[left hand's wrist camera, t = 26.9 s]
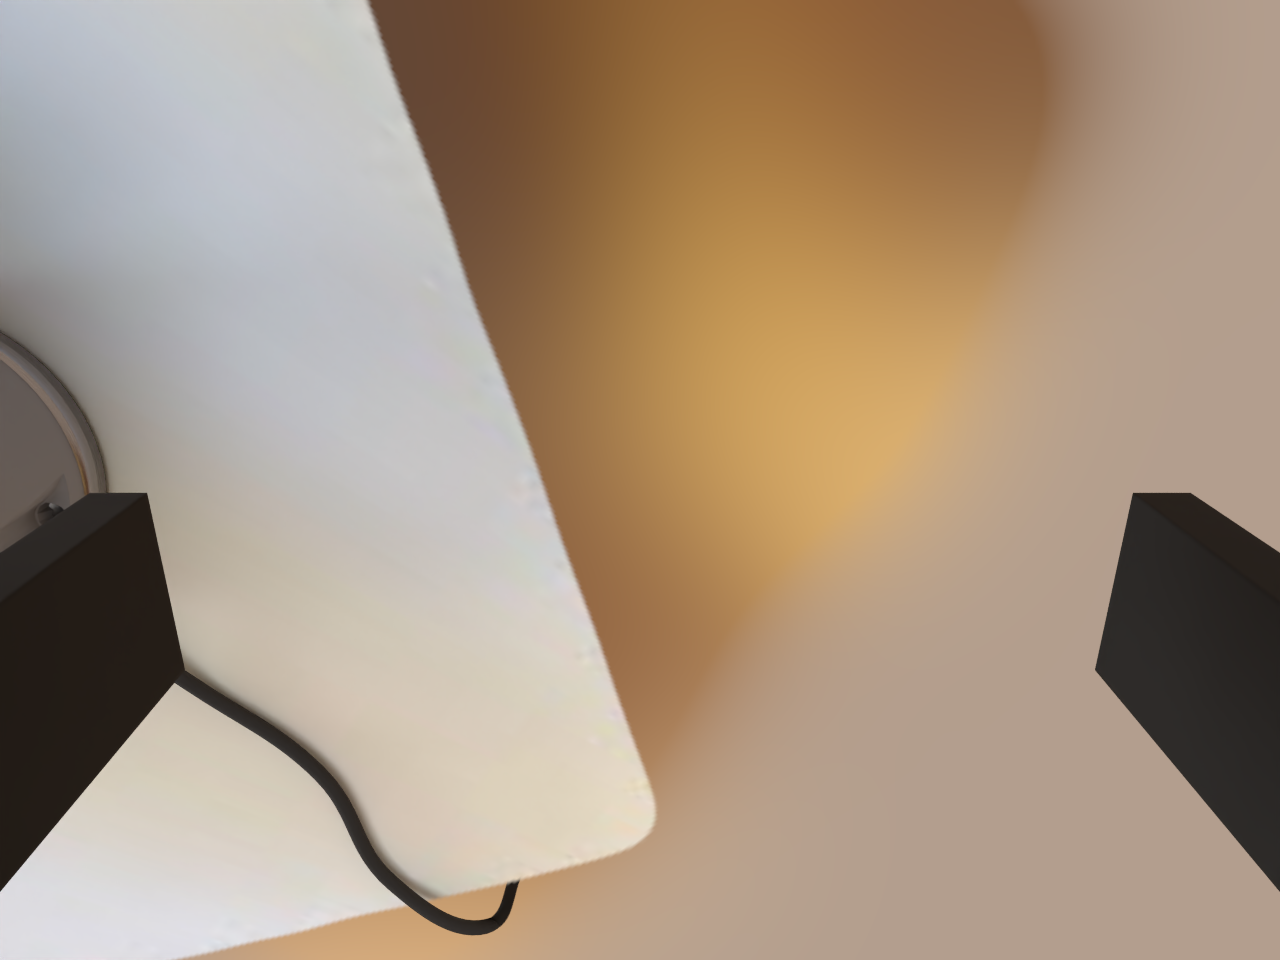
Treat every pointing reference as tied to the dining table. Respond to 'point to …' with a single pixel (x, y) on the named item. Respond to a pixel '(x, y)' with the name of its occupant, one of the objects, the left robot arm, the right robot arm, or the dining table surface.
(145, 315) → the dining table surface
